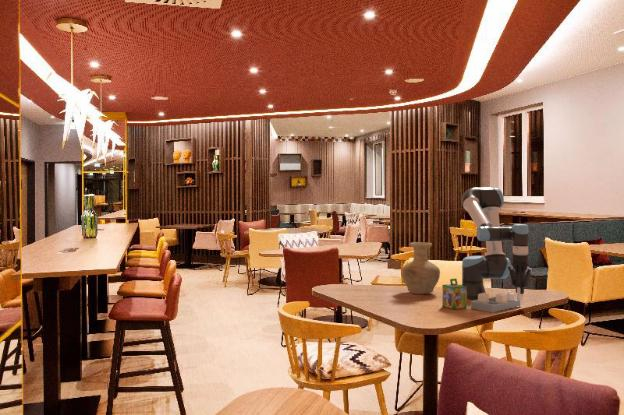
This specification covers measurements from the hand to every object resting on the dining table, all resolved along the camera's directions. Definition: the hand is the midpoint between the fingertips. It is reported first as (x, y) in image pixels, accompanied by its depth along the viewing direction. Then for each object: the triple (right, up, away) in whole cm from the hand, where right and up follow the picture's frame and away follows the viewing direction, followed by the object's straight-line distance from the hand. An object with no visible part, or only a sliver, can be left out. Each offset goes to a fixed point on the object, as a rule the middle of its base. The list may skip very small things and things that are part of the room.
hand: (519, 299), depth 272 cm
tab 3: (-4, -3, +5) cm, 7 cm away
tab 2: (-9, -3, +1) cm, 10 cm away
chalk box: (-33, -5, +4) cm, 33 cm away
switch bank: (-11, -5, +3) cm, 13 cm away
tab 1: (-18, -3, +1) cm, 19 cm away
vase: (-42, -4, +43) cm, 60 cm away
